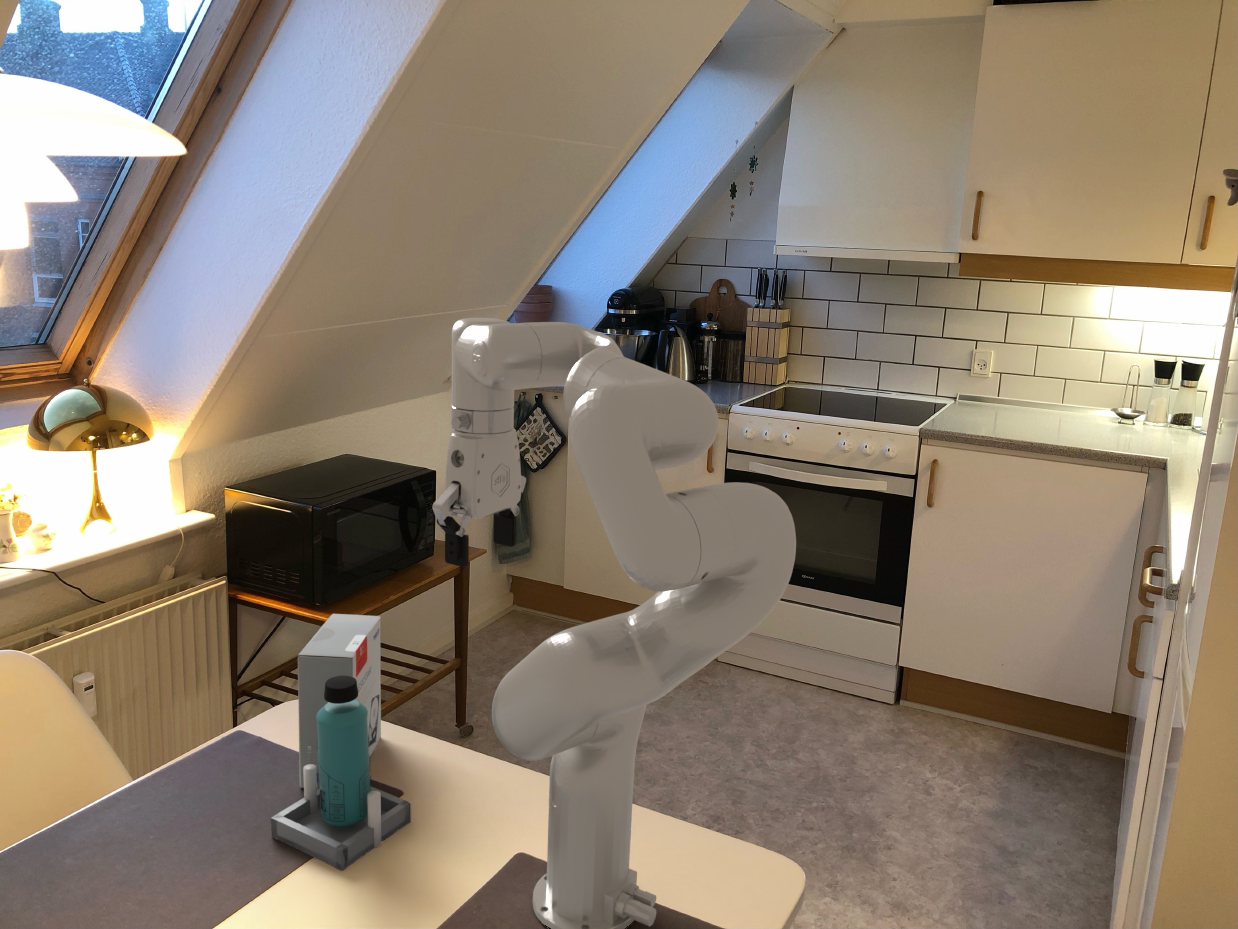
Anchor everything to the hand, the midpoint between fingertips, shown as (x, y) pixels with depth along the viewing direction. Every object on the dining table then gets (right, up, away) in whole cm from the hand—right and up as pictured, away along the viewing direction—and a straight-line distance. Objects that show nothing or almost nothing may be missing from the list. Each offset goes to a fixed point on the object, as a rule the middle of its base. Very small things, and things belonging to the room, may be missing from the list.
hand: (481, 554), depth 124 cm
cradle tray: (-18, -36, +3) cm, 40 cm away
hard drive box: (-23, -32, +19) cm, 44 cm away
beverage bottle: (-18, -35, +3) cm, 40 cm away
